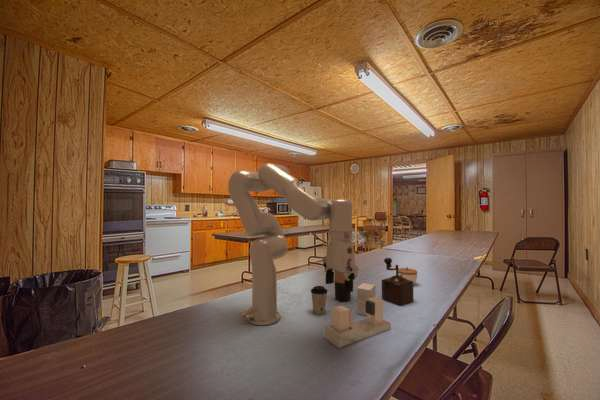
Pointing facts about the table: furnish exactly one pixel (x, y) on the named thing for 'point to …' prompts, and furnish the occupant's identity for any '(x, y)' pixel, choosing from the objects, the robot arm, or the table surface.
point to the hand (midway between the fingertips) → (338, 287)
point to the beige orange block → (341, 318)
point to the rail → (360, 326)
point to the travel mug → (341, 288)
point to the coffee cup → (319, 299)
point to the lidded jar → (408, 274)
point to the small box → (364, 296)
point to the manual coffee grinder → (396, 287)
